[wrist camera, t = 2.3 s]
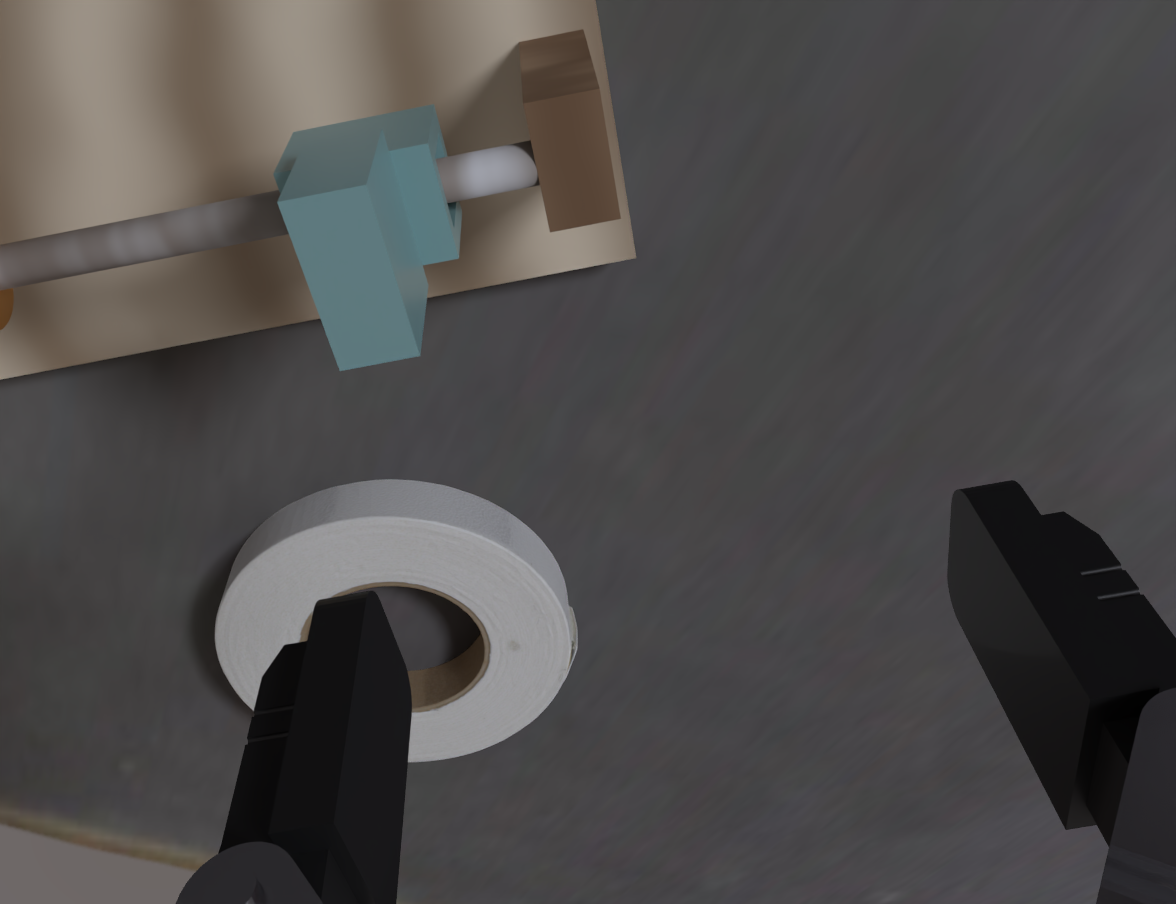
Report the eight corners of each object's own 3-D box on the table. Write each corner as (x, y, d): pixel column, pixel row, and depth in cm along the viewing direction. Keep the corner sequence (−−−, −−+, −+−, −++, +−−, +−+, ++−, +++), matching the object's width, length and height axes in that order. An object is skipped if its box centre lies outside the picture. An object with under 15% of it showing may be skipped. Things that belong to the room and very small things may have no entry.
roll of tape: (298, 742, 52) (289, 790, 50) (170, 513, 43) (152, 559, 41) (598, 687, 51) (602, 733, 49) (530, 442, 42) (533, 485, 40)
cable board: (571, -137, 30) (595, -90, 23) (631, 240, 37) (664, 365, 30) (-211, 26, 31) (-423, 120, 24) (-8, 362, 38) (-124, 512, 31)
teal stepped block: (428, 82, 28) (411, 175, 22) (467, 230, 31) (460, 348, 25) (286, 110, 28) (232, 210, 22) (336, 255, 31) (299, 378, 25)
